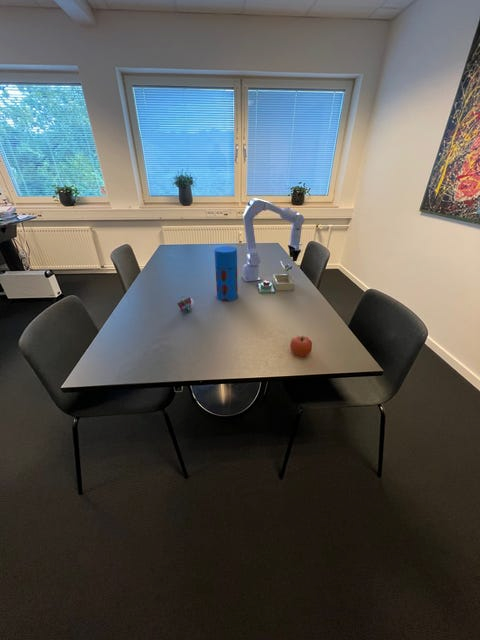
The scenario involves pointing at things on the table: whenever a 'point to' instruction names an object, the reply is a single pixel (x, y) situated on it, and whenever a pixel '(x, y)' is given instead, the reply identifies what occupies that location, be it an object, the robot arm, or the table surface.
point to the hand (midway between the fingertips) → (293, 259)
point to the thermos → (226, 272)
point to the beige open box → (282, 282)
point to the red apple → (301, 345)
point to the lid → (287, 270)
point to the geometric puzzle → (185, 303)
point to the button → (266, 282)
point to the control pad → (266, 288)
